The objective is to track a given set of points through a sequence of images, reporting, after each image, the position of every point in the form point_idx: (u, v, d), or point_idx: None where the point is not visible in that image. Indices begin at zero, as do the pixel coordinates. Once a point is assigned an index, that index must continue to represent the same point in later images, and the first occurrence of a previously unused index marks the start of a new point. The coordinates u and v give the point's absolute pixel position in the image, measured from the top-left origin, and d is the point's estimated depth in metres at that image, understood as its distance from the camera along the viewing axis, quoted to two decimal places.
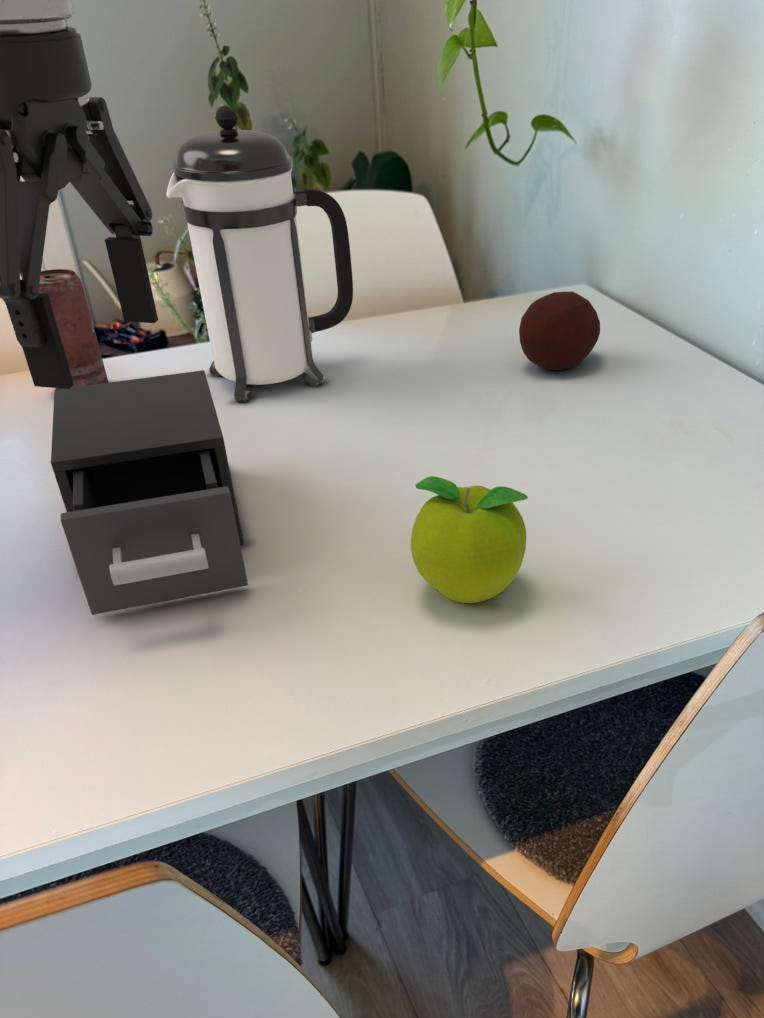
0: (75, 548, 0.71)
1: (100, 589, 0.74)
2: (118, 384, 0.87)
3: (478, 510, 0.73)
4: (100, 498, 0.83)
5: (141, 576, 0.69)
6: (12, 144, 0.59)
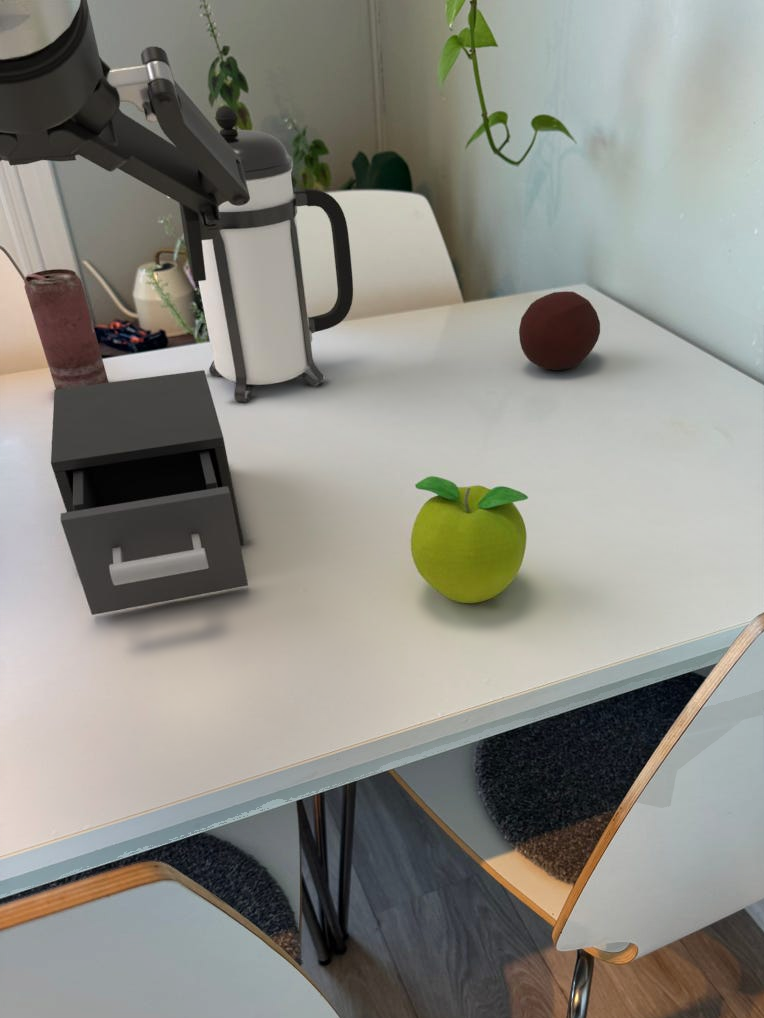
0: (75, 548, 0.71)
1: (100, 589, 0.74)
2: (118, 384, 0.87)
3: (478, 510, 0.73)
4: (100, 498, 0.83)
5: (141, 576, 0.69)
6: None
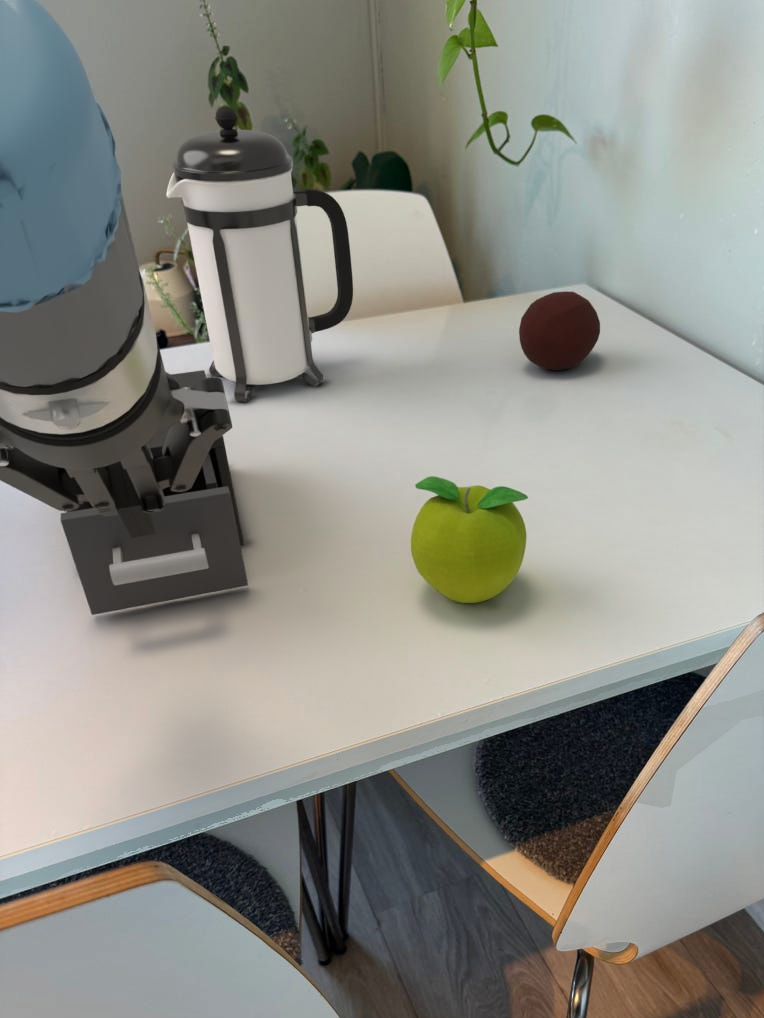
0: (75, 548, 0.71)
1: (100, 589, 0.74)
2: None
3: (478, 510, 0.73)
4: None
5: (141, 576, 0.69)
6: None
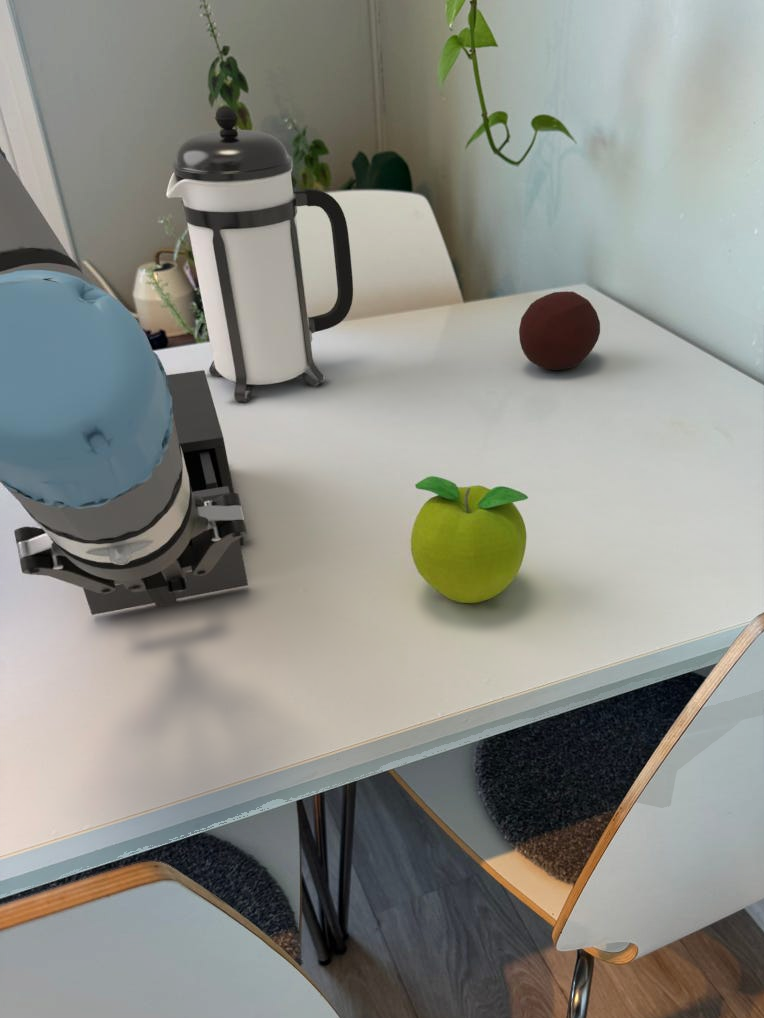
0: None
1: None
2: None
3: (478, 510, 0.73)
4: None
5: None
6: None
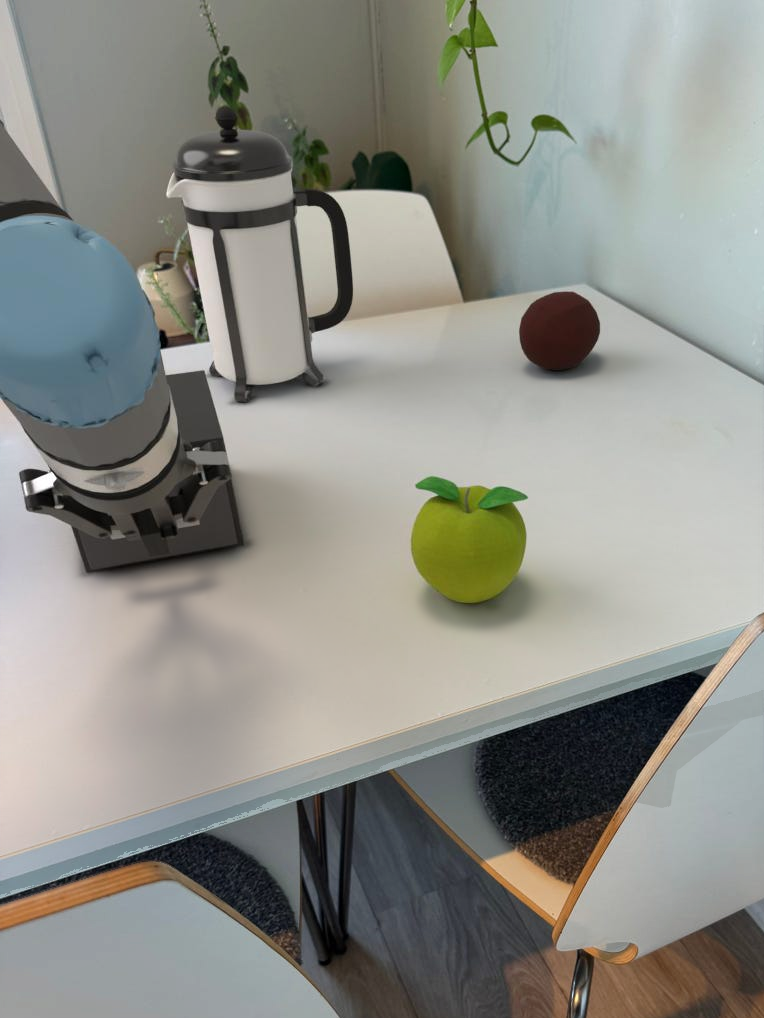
0: None
1: (99, 545, 0.79)
2: None
3: (478, 510, 0.73)
4: None
5: None
6: None
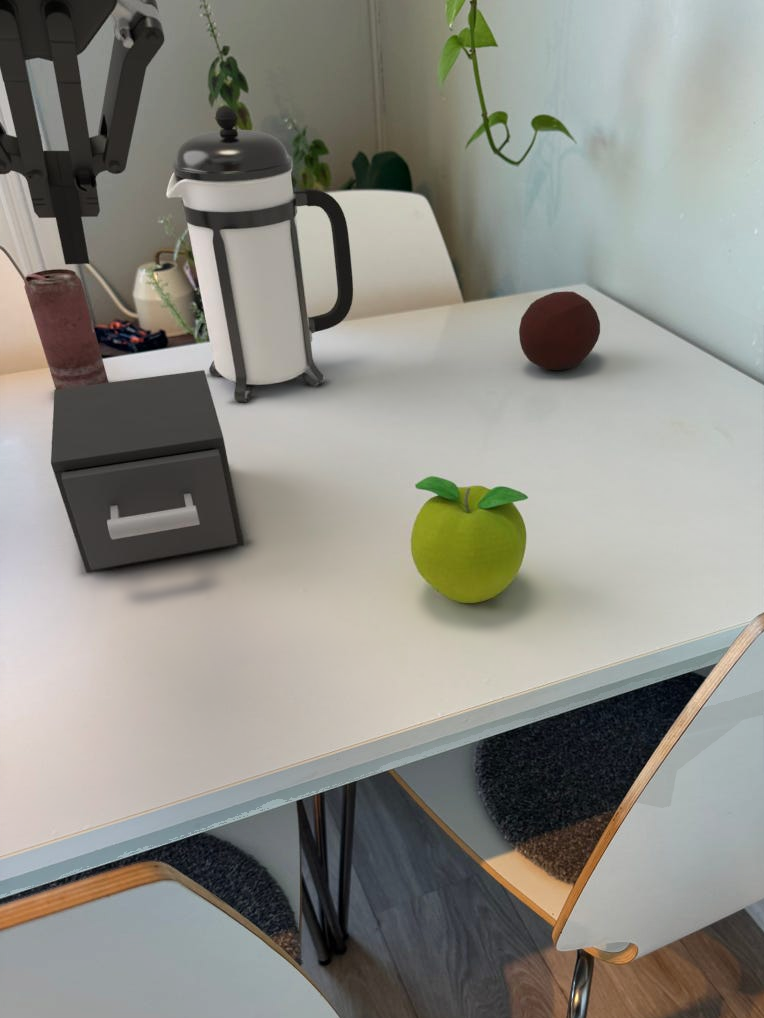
0: (75, 506, 0.76)
1: (99, 545, 0.79)
2: (118, 384, 0.87)
3: (478, 510, 0.73)
4: None
5: (137, 531, 0.75)
6: None
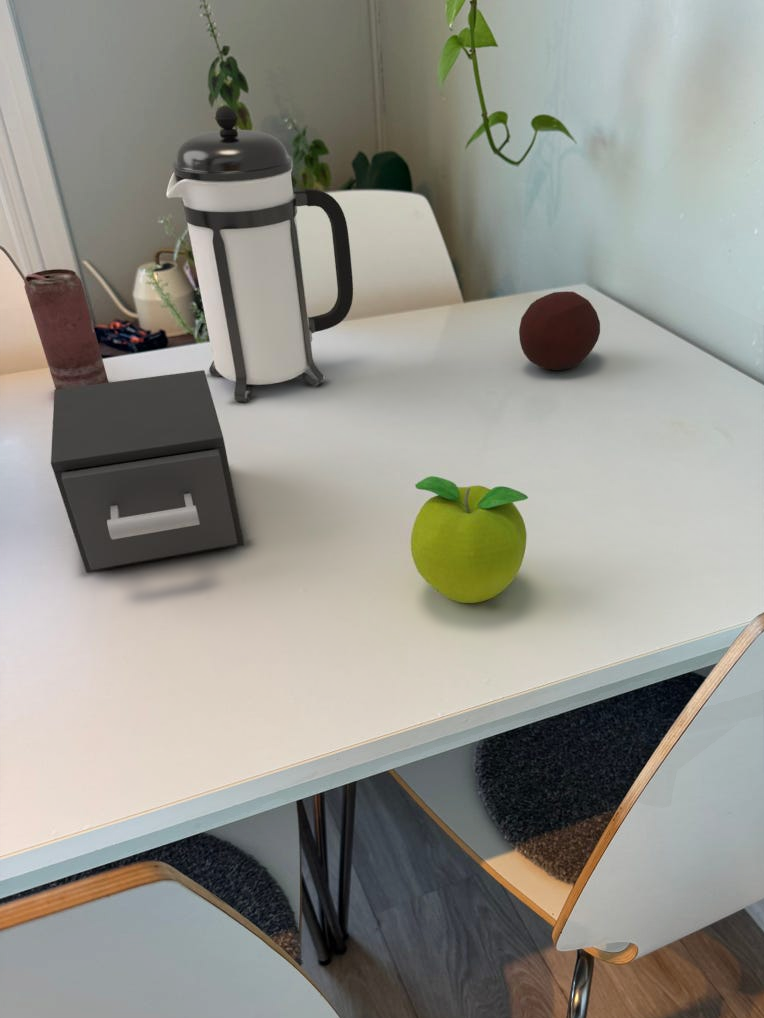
0: (75, 506, 0.76)
1: (99, 545, 0.79)
2: (118, 384, 0.87)
3: (478, 510, 0.73)
4: None
5: (137, 531, 0.75)
6: None
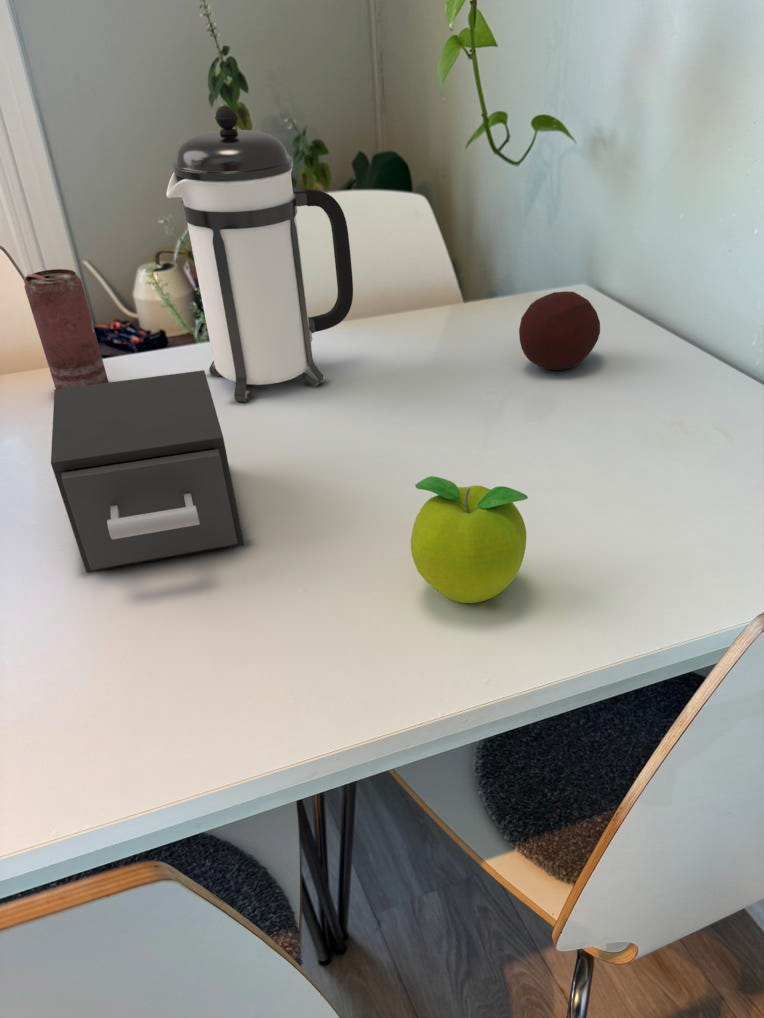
0: (75, 506, 0.76)
1: (99, 545, 0.79)
2: (118, 384, 0.87)
3: (478, 510, 0.73)
4: None
5: (137, 531, 0.75)
6: None
